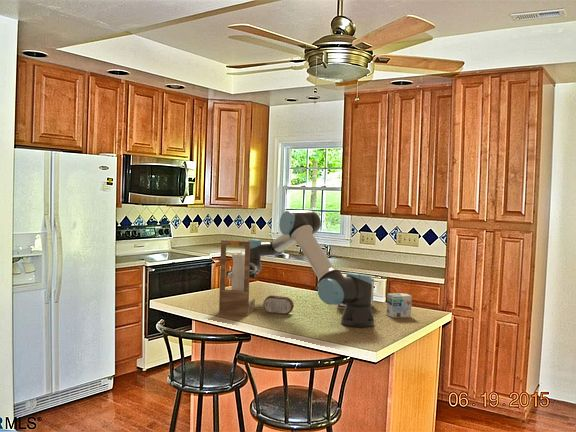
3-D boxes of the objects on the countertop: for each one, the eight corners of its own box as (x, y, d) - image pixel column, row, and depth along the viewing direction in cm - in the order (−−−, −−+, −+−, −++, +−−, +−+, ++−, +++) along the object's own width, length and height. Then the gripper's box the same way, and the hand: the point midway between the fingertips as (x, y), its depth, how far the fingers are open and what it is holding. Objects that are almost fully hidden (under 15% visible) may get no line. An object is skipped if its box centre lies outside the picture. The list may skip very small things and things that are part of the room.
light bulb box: (391, 317, 269) (392, 296, 268) (385, 314, 275) (386, 293, 275) (411, 317, 272) (412, 295, 271) (405, 314, 278) (406, 293, 278)
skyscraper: (248, 307, 269) (250, 250, 268) (232, 307, 266) (234, 250, 265) (243, 303, 277) (245, 248, 276) (227, 304, 274) (229, 248, 273)
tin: (293, 314, 270) (294, 297, 269) (291, 315, 267) (292, 298, 266) (264, 311, 274) (264, 294, 273) (262, 312, 271) (262, 295, 270)
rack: (246, 316, 262) (249, 241, 260) (218, 313, 265) (220, 239, 263) (254, 309, 276) (256, 238, 275) (227, 307, 279) (229, 237, 277)
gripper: (266, 278, 287) (255, 286, 264) (230, 276, 291) (216, 283, 268) (267, 264, 287) (256, 270, 264) (230, 262, 290) (216, 268, 268)
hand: (235, 277), depth 266 cm, fingers closed on skyscraper, 7 cm apart
